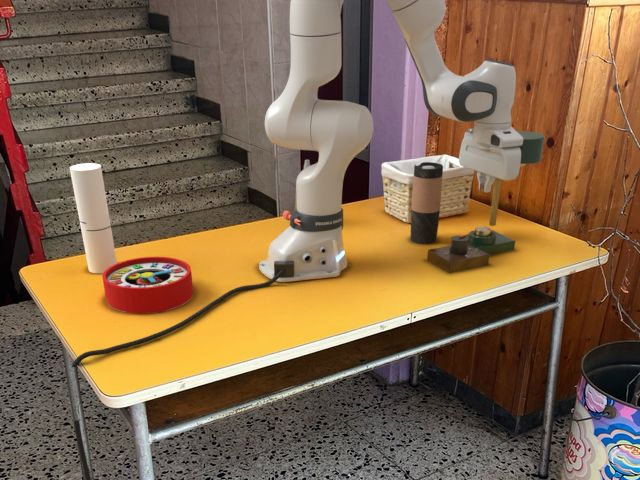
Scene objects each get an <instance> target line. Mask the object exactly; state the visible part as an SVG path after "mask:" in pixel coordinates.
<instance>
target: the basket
mask: <svg viewBox="0 0 640 480" xmlns="http://www.w3.org/2000/svg"><path fill="white" fill-rule="evenodd" d="M424 162H432V163H438V164H441V165H443V174H442V188H441V202H440V213H439V219H440V218H447V217H450V216H455V215H461V214H466V213H467V212H468V208H469V202H470V195H471V190H472V185H473V181H474V174H475V170H472V169H469V168H466V167H463V166H461V165H460V163H459V157H455V156H451V155H448V154H441V155H440V154H439V155H431V156H424V157H418V158H411V159H403V160H395V161H385V162H382V163H381V164H380V165H381V177H382V184H383V185H382V186H383V199H384V200H383V201H384V212H385V213H386V214H389V215H390V216H393V217H394V218H395V219H398V220H400V221H402V222H404V223H408V224H411V208H412V193H413V179H414V166H415V165H416V166H418V165H420V164H421V163H424Z"/></svg>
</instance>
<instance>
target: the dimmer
mask: <svg viewBox="0 0 640 480" xmlns="http://www.w3.org/2000/svg"><path fill="white" fill-rule="evenodd" d="M490 256H491V255H490V254H488V253H486V252H484V251H482V250H480V249H478V248H476V247H474V246H472V245H470V244H468V250H467V253H466V254H463V255H457V254H452V253H451V252H450V245H446V246H440V247H435V248H430V249H427V255H426V262H429V263H430V264H432V265H434V266H436V267H438V268H439V269H440V270H442V271H444V272H446V273H448V274H453V273H457V272H461V271H467V270H472V269H477V268H481V267H487V266H489V264H490Z"/></svg>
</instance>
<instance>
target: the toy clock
mask: <svg viewBox="0 0 640 480" xmlns="http://www.w3.org/2000/svg"><path fill="white" fill-rule="evenodd" d="M101 276H102V282H103V288H104V289H103V290H104V296H105V300H106V303H107V305H108V306H109V307H110V308H112V309H114V310H116V311H119V312H123V313H126V314H127V313H129V314H155V313H161V312H166V311H170V310H173V309H176V308H177V309H178V308H179V307H181V306H183V305H185V304H187V303H189V302H190V301H191V300H192V299H193V296H194V293H195V292H194V285H193V275H192V267H191V266H190V265H189V263H187V262H186V261H185V260H182V259H178V258H175V257H169V256H145V257H144V256H143V257H136V258H131V259H126V260H123V261H120V262H117V264H114V265H112V266H110V267H109V268H107V269H106V270H105V271H104V272H103V273H102V275H101Z"/></svg>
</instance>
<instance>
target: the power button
mask: <svg viewBox="0 0 640 480" xmlns="http://www.w3.org/2000/svg"><path fill="white" fill-rule="evenodd" d="M491 230H492V229H491V228H490V227H488V226H476V227H475V229H474V231H475V235H476V236H479V237H489V236H490V233H491Z"/></svg>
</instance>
